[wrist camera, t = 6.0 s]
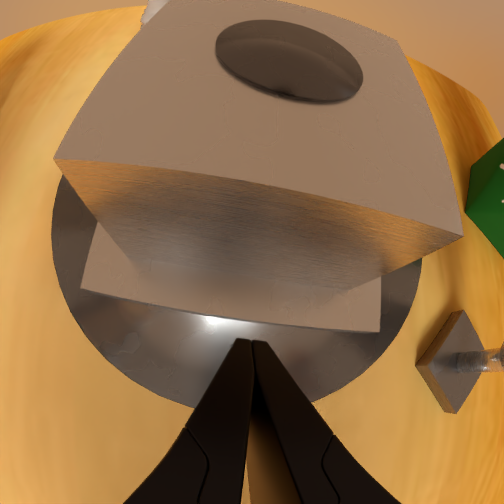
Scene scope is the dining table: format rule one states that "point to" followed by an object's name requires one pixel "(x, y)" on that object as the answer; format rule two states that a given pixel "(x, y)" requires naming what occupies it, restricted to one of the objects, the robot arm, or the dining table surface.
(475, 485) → the dining table surface
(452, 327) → the rubber stamp
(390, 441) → the dining table surface
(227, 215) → the cover
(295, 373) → the platter
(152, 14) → the rook chess piece
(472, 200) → the milk carton
